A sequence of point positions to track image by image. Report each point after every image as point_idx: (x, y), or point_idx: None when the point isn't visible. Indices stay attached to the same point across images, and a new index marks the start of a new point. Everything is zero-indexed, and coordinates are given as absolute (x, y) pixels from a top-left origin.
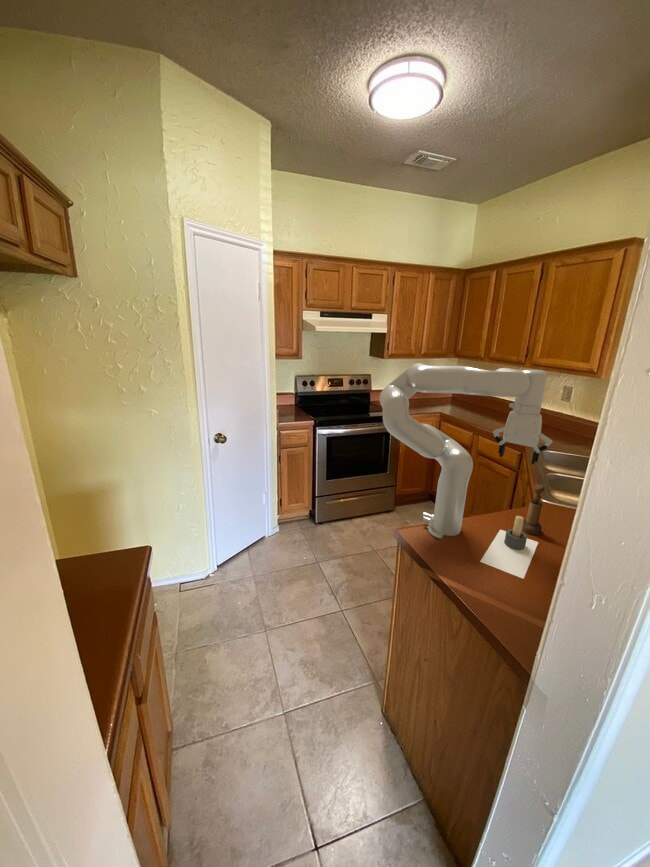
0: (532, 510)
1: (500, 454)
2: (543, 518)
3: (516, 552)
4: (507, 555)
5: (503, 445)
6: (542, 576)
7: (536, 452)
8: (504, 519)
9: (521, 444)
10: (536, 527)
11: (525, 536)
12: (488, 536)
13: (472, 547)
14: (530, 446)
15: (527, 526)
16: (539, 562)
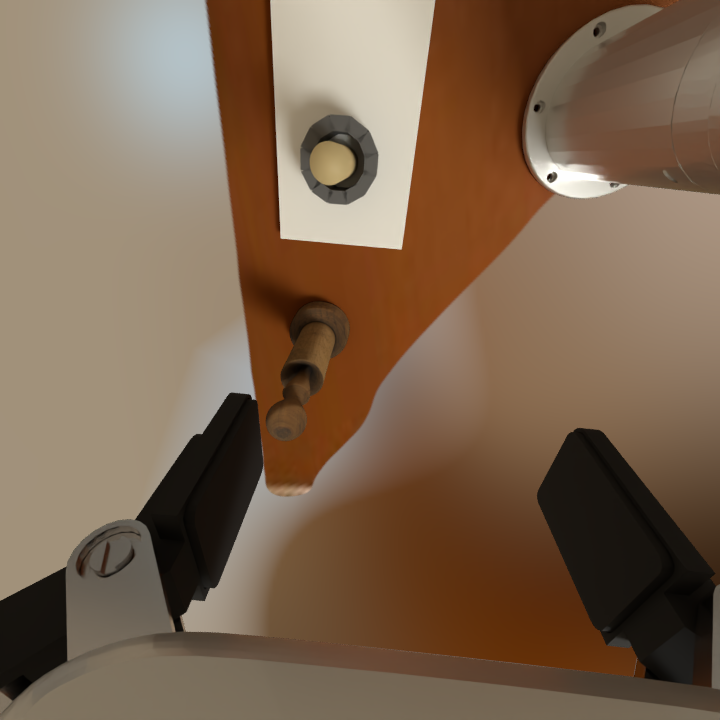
0: (311, 347)
1: (608, 448)
2: None
3: (328, 98)
4: (353, 39)
5: (665, 595)
6: (225, 5)
7: (145, 527)
8: (396, 346)
9: (394, 663)
10: (300, 318)
11: (306, 164)
12: (433, 195)
13: (486, 50)
14: (178, 633)
15: (325, 312)
16: (257, 118)
